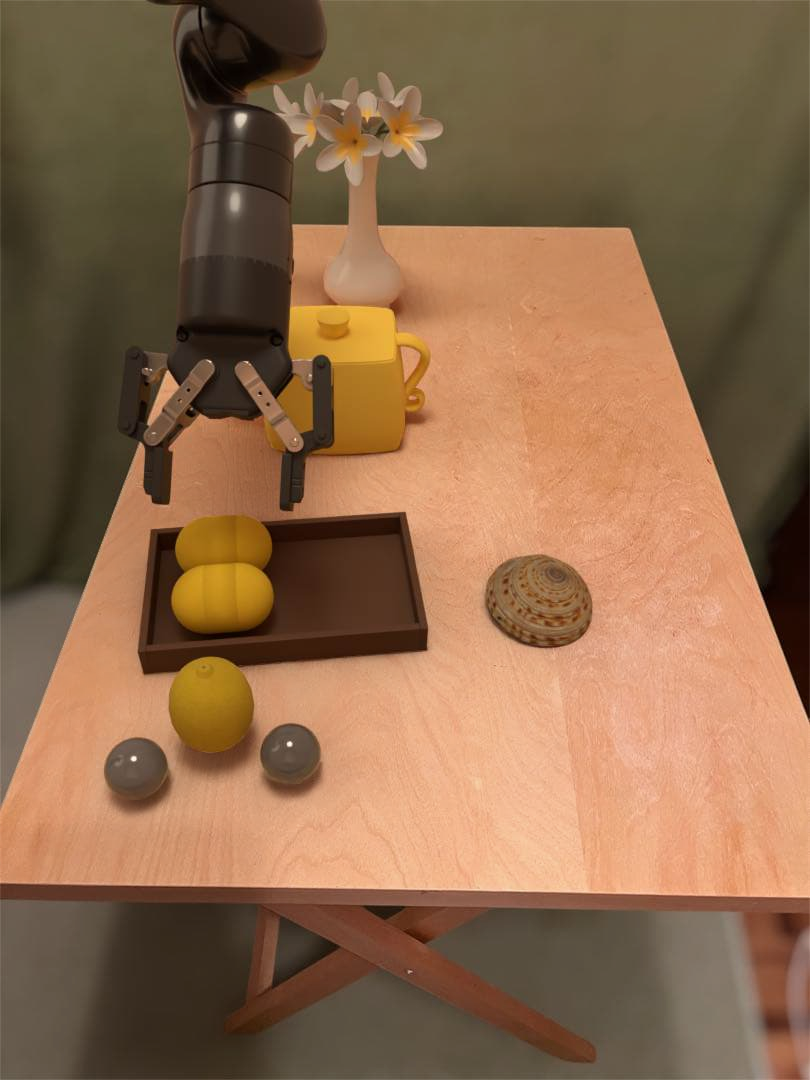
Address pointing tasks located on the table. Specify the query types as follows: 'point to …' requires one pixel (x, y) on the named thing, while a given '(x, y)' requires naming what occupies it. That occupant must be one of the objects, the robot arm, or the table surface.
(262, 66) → the robot arm
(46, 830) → the table surface
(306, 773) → the stone right
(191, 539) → the yellow banded capsule
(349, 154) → the flower vase
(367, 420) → the teapot
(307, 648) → the tray
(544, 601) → the seashell
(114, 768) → the glossy gray ball
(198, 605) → the yellow ribbed oblong body
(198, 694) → the lemon
